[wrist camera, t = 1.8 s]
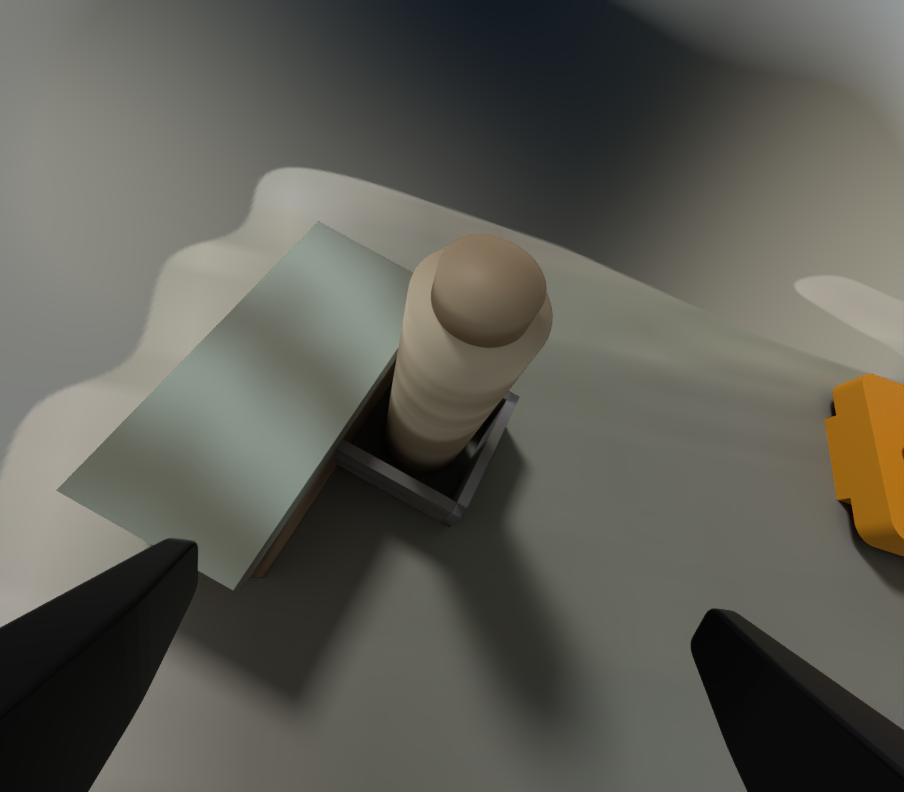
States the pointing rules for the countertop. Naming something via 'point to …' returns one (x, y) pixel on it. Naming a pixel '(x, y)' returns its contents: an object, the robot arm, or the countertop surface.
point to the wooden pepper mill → (462, 347)
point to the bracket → (870, 457)
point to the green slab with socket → (270, 416)
